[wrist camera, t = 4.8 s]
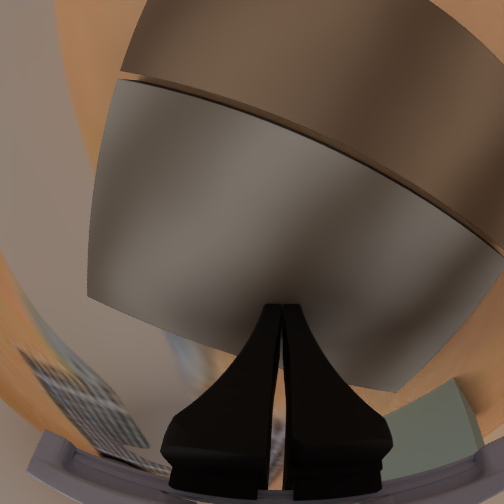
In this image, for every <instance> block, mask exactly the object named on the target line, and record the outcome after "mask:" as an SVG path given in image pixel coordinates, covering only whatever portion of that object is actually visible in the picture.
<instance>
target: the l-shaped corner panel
mask: <svg viewBox="0 0 504 504" xmlns="http://www.w3.org/2000/svg"><path fill="white" fill-rule="evenodd" d="M383 417H384V418H385V419H386V421H387V424H388V426H389V429H390V432H391V435H392V438H393V448H392V449H391V451H390V452H389V453H388V454H387V455H386V456H385V457H384V458H383V459H382V465H383V469H382V471H380V472H381V480H382V481H386V480H391V479H396V478H400V477H404V476H409V475H412V474H416V473H420V472H424V471H427V470H431V469H434V468H437V467H440V466H443V465H446V464H449V463H452V462H455V461H458V460H460V459H463V458H466V457H468V456H471V455H473V454H475V452H477V451H478V450H479V449H480V448H482V447H483V446H485V444H484V441H483V437H482V434H481V431H480V428H479V425H478V422H477V419H476V416H475V413H474V412H473V410H472V408H471V406H470V405H469V403H468V401H467V400H466V398H465V396H464V394H463V393H462V391H461V389H460V388H459V386H458V385H457V383H456V381H455V380H454V378H452V379H450V380H449V381H447V382H446V383H444V384H443V385H441V386H439V387H438V388H436V389H434V390H433V391H431V392H429V393H427V394H426V395H424V396H422V397H420V398H418V399H417V400H415V401H413V402H411V403H409V404H407V405H405V406H403V407H402V408H400V409H398V410H396V411H394V412H391V413H389V414H387V415H385V416H383ZM355 504H358V503H355Z"/></svg>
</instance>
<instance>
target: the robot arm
mask: <svg viewBox="0 0 504 504" xmlns="http://www.w3.org/2000/svg"><path fill="white" fill-rule="evenodd" d="M280 327H281V304H265V305H264V306H263V309H262V312H261V315H260V317H259V320H258V322H257V324H256V326H255V328H254V330H253V332H252V333H251V335H250V337H249V339H248V341H247V342H246V344H245V345H244V347H243V348H242V350H241V351H240V353H239V354H238V356H237V357H236V359H235V360H234V361H233V363H232V364H231V365H230V366H229V368H228V369H227V370H226V371H225V372H224V373H223V374H222V376H221V377H220V378H219V379H218V380H217V381H216V382H215V383H214V384H213V385H212V386H211V387H210V388H209V389H208V390H207V391H206V392H204V393H203V394H202V395H201V396H200V397H199V398H198V399H197V400H195V401H194V402H193V403H192V404H190V405H189V406H188V407H186V408H185V409H183V410H182V411H181V412H179V413H178V414H177V415H175V416H174V417H173V419H172V421H171V422H170V424H169V426H168V428H167V431H166V433H165V435H164V439H163V443H162V446H161V450H160V452H161V454H162V456H163V457H164V458H165V459H166V460H167V461H168V463H169V464H170V465H171V466H172V471H171V475H170V478H169V477H164V476H160V475H156V474H152V473H148V472H144V471H141V470H137V469H134V468H130V467H127V466H124V465H121V464H118V463H115V462H112V461H109V460H106V459H103V458H101V457H98V456H95V455H93V454H90V453H88V452H85V451H83V450H80V449H78V448H76V447H75V446H74V445H73V444H72V443H71V442H70V441H68V440H67V439H65V438H63V437H61V436H59V435H57V434H55V433H53V432H51V431H49V430H47V429H46V430H44V432H43V434H42V436H41V438H40V441H39V443H38V445H37V447H36V449H35V451H34V454H33V456H32V458H31V460H30V463H29V465H28V467H27V470H26V471H27V473H28V474H30V475H31V476H33V477H34V478H36V479H37V480H39V481H41V482H42V483H44V484H46V485H47V486H49V487H51V488H52V489H54V490H56V491H58V492H59V493H61V494H63V495H65V496H67V497H69V498H71V499H72V500H74V501H76V502H79V503H81V504H197V503H196V502H193V501H189V500H194V501H200V502H206V503H213V504H355V503H358V504H479V503H482V502H483V501H485V500H487V499H489V498H491V497H493V496H495V495H497V494H498V493H500V492H502V491H503V490H504V437H501V438H499V439H497V440H495V441H493V442H491V443H488V444H487V445H485V446H483V447H482V448H480V449H479V450H478V451H477V452H475V454H473V455H471V456H468V457H466V458H463V459H460V460H458V461H455V462H452V463H449V464H446V465H443V466H440V467H437V468H434V469H431V470H427V471H424V472H420V473H416V474H412V475H409V476H404V477H400V478H396V479H391V480H386V481H382V480H381V472H380V471H382V469H383V465H382V459H383V458H384V457H385V456H386V455H387V454H388V453H389V452H390V451H391V449H392V448H393V438H392V435H391V432H390V429H389V426H388V424H387V421H386V419H385V418H384V417H382V416H381V415H380V414H378V413H377V412H376V411H375V410H373V409H372V408H371V407H370V406H369V405H368V404H367V403H365V402H364V401H363V400H362V399H361V398H360V397H359V396H358V395H357V394H356V393H355V392H354V391H353V390H352V389H351V388H350V387H349V385H348V384H347V383H346V382H345V381H344V380H343V379H342V378H341V376H340V375H339V374H338V373H337V371H336V370H335V369H334V367H333V366H332V365H331V363H330V362H329V361H328V359H327V358H326V356H325V355H324V353H323V351H322V350H321V348H320V346H319V345H318V343H317V341H316V339H315V337H314V336H313V334H312V332H311V330H310V328H309V326H308V323H307V321H306V319H305V316H304V314H303V311H302V308H301V305H300V304H284V317H283V357H282V358H283V371H284V383H285V395H286V431H285V453H284V471H283V486H282V490H268V480H269V465H270V449H271V432H272V413H273V402H274V395H275V388H276V381H277V374H278V367H279V360H280ZM182 498H184V499H182ZM186 499H189V500H186Z"/></svg>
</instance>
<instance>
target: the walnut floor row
mask: <svg viewBox="0 0 504 504" xmlns="http://www.w3.org/2000/svg"><path fill="white" fill-rule="evenodd" d="M120 71H124V72H129V73H134V74H140V75H144V76H149V77H154V78H158V79H163V80H167V81H171V82H175V83H179V84H183V85H187V86H190V87H194V88H197V89H201V90H204V91H208V92H211V93H214V94H218V95H221V96H224V97H227V98H230V99H233V100H236V101H239V102H242V103H245V104H248V105H251V106H253V107H256V108H259V109H262V110H264V111H267V112H270V113H272V114H275V115H277V116H280V117H282V118H285V119H287V120H290V121H292V122H294V123H297V124H299V125H301V126H304V127H306V128H308V129H311V130H313V131H315V132H317V133H319V134H322V135H324V136H326V137H328V138H330V139H332V140H334V141H336V142H339V143H341V144H343V145H345V146H347V147H349V148H351V149H353V150H355V151H356V152H358V153H360V154H362V155H364V156H366V157H368V158H370V159H372V160H373V161H375V162H377V163H379V164H381V165H382V166H384V167H386V168H388V169H389V170H391V171H393V172H395V173H396V174H398V175H400V176H401V177H403V178H405V179H406V180H408V181H410V182H411V183H413V184H415V185H416V186H418V187H419V188H421V189H422V190H424V191H426V192H427V193H429V194H430V195H432V196H433V197H435V198H436V199H438V200H439V201H441V202H442V203H444V204H445V205H446V206H448V207H449V208H451V209H452V210H454V211H455V212H456V213H458V214H459V215H460V216H462V217H463V218H465V219H466V220H467V221H469V222H470V223H471V224H473V225H474V226H475V227H476V228H478V229H479V230H480V231H482V232H483V233H484V234H485V235H487V236H488V237H489V238H490V239H491V240H493V241H494V242H495V243H496V244H497V245H499V246H500V247H501V248H502V249H503V250H504V64H503V63H502V62H501V61H500V60H499V59H498V58H497V57H496V56H495V55H494V54H493V53H492V52H491V51H490V50H489V49H488V48H487V47H486V46H485V45H484V44H483V43H482V42H481V41H479V40H478V39H477V38H476V37H475V36H474V35H473V34H472V33H470V32H469V31H468V30H467V29H466V28H465V27H463V26H462V25H461V24H460V23H459V22H457V21H456V20H455V19H454V18H452V17H451V16H450V15H448V14H447V13H446V12H444V11H443V10H442V9H440V8H439V7H438V6H436V5H435V4H433V3H432V2H430V1H429V0H147V3H146V5H145V7H144V9H143V11H142V14H141V16H140V18H139V21H138V23H137V26H136V28H135V31H134V33H133V36H132V38H131V41H130V44H129V46H128V49H127V52H126V55H125V58H124V61H123V64H122V67H121V70H120Z"/></svg>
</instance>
